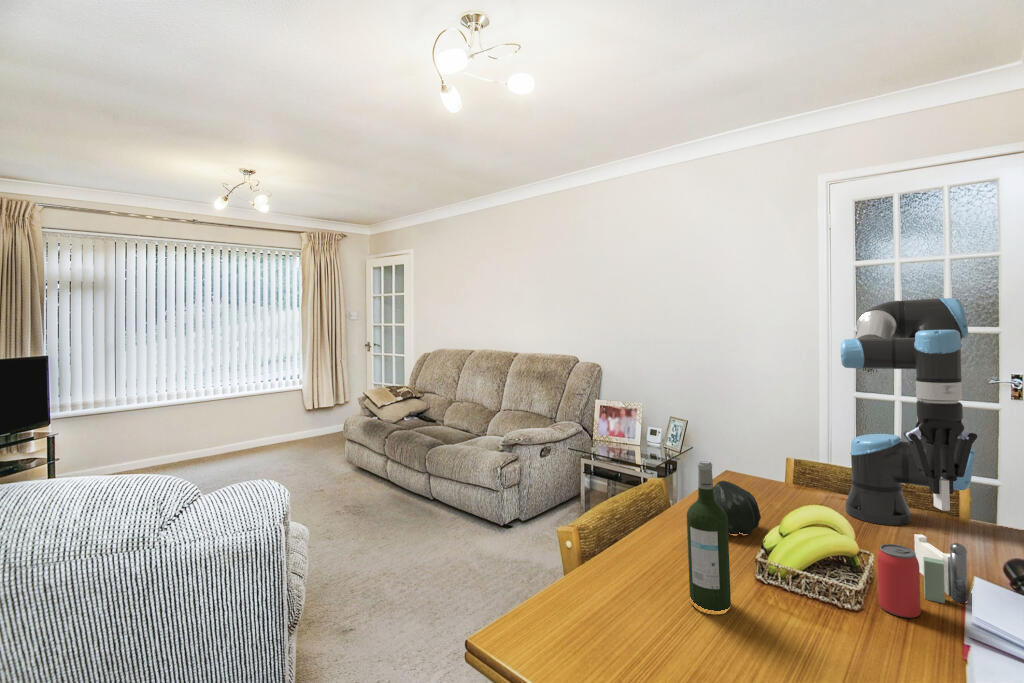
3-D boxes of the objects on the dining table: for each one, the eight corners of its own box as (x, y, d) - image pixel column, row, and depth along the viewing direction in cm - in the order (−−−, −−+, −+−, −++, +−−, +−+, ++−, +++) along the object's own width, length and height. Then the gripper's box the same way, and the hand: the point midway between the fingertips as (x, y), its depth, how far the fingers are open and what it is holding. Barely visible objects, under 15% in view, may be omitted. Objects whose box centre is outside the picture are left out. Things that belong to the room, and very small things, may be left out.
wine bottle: (729, 597, 103) (723, 457, 102) (733, 618, 96) (727, 467, 95) (689, 592, 106) (684, 455, 105) (690, 612, 98) (684, 466, 97)
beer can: (929, 621, 92) (927, 558, 92) (889, 618, 93) (887, 557, 93) (908, 601, 98) (906, 543, 98) (871, 599, 100) (869, 542, 100)
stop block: (924, 594, 101) (923, 556, 100) (943, 598, 99) (942, 560, 99) (925, 599, 99) (924, 560, 99) (944, 603, 97) (943, 564, 97)
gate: (957, 595, 100) (956, 557, 99) (948, 595, 100) (947, 556, 100) (923, 569, 110) (922, 534, 110) (915, 568, 111) (914, 534, 111)
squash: (773, 508, 136) (733, 465, 141) (768, 530, 124) (724, 482, 128) (733, 533, 142) (696, 491, 147) (725, 557, 130) (684, 510, 135)
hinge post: (949, 595, 100) (948, 539, 100) (967, 599, 98) (965, 542, 98) (951, 601, 98) (950, 544, 97) (969, 605, 96) (967, 547, 96)
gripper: (915, 403, 103) (918, 513, 103) (987, 402, 100) (989, 515, 101) (894, 398, 110) (897, 501, 111) (961, 397, 108) (963, 502, 108)
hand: (941, 508), depth 106 cm, fingers closed
